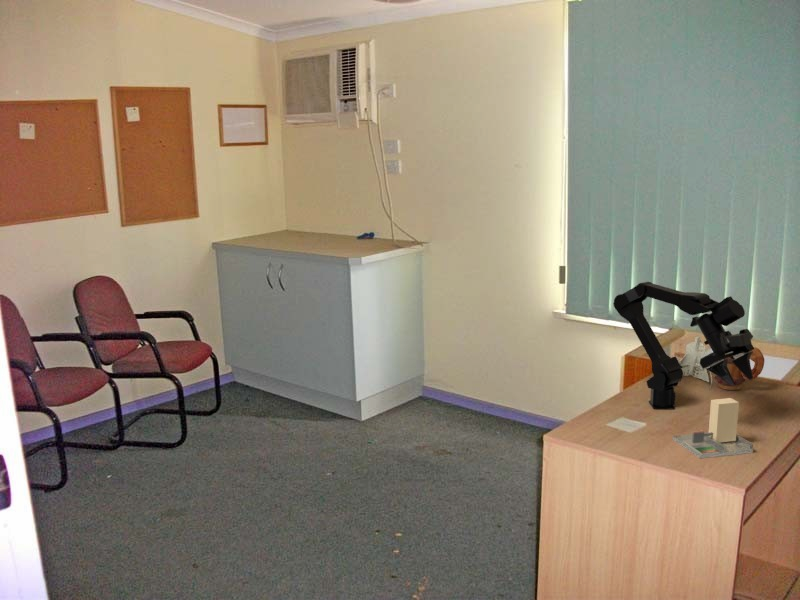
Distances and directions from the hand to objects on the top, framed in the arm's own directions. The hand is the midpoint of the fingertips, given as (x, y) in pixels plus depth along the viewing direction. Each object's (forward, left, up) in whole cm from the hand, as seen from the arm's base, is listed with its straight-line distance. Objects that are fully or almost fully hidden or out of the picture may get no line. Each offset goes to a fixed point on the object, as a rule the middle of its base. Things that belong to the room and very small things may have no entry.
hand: (742, 382), depth 210 cm
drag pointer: (-16, -13, -13) cm, 24 cm away
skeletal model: (+2, +50, -15) cm, 52 cm away
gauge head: (-11, -10, -13) cm, 20 cm away
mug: (+13, +36, -15) cm, 41 cm away
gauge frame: (-11, -11, -15) cm, 21 cm away
